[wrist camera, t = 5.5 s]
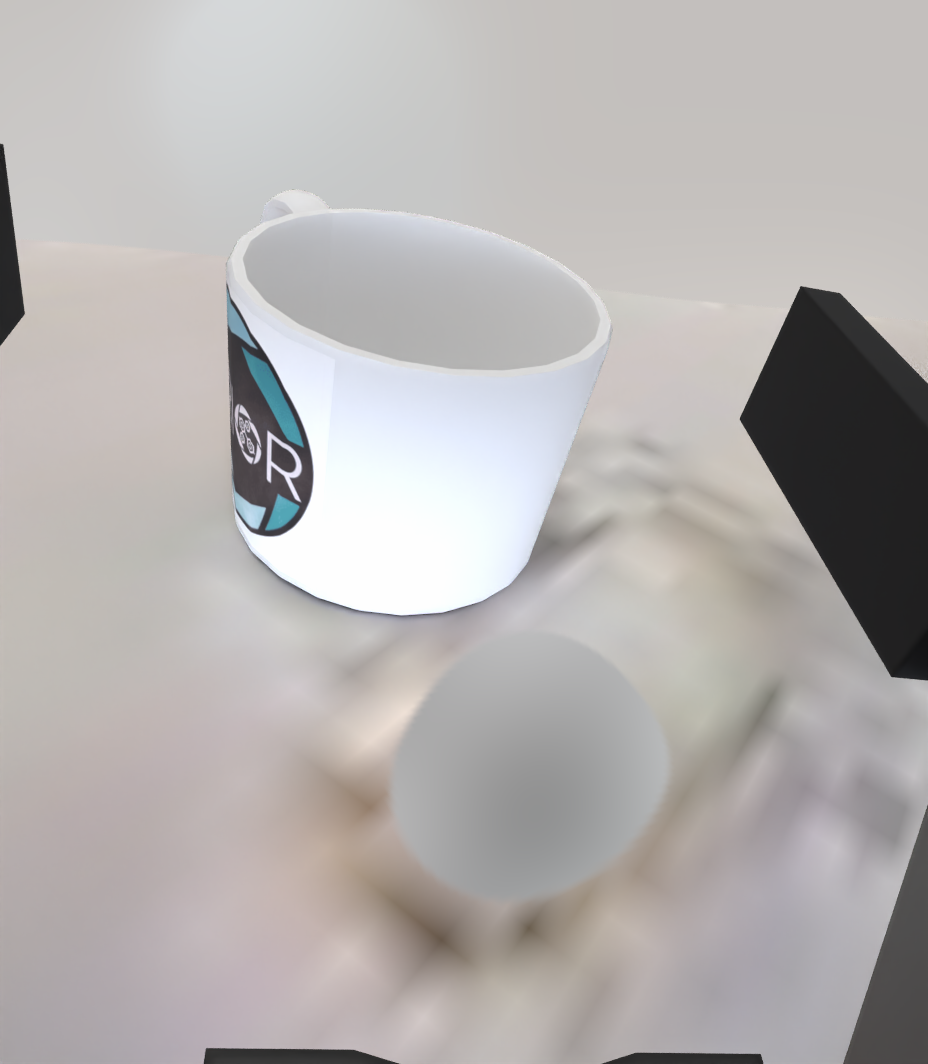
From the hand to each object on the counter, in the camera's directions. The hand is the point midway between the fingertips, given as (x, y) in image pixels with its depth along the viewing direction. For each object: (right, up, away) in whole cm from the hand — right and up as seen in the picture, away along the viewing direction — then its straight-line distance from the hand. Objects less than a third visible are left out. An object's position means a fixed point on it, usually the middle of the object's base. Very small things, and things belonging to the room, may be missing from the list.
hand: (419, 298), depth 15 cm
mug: (-3, -3, +15) cm, 15 cm away
